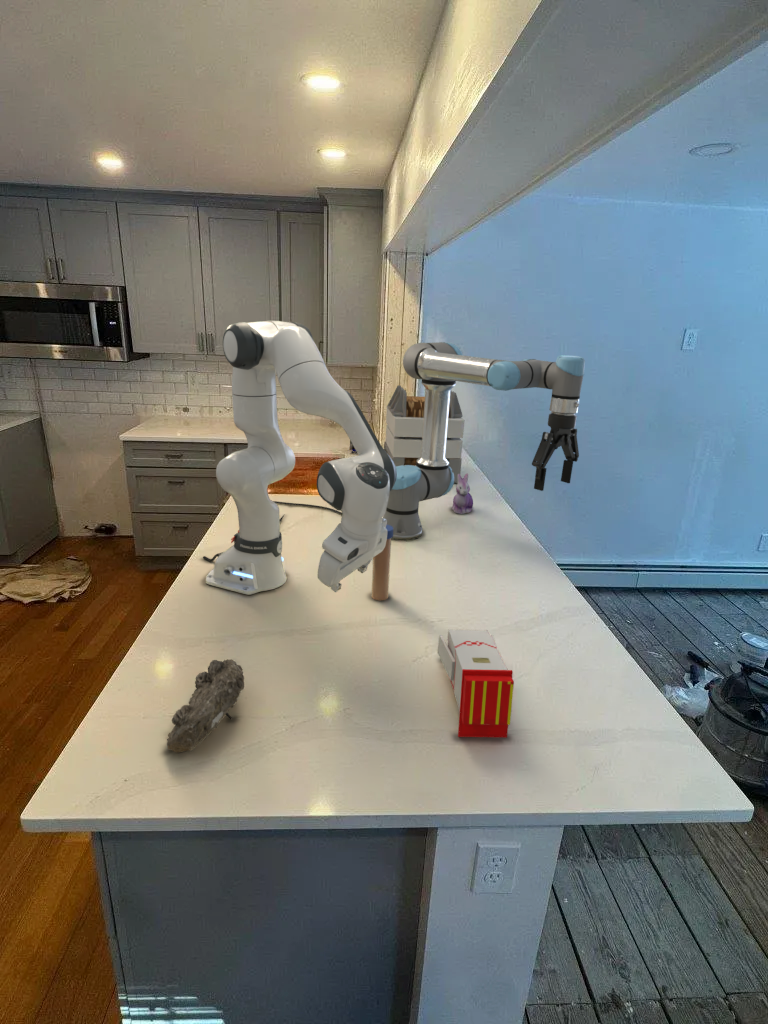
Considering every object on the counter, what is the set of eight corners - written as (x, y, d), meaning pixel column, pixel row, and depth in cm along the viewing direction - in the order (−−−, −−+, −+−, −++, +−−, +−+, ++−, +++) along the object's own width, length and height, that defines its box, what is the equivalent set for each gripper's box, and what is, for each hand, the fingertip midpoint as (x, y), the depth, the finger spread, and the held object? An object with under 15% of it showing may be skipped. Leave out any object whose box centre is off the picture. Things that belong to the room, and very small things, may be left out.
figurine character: (361, 456, 305) (361, 447, 319) (361, 443, 302) (362, 434, 315) (348, 456, 305) (350, 446, 318) (349, 442, 302) (350, 433, 315)
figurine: (459, 516, 220) (463, 478, 214) (445, 507, 228) (448, 471, 223) (479, 513, 224) (483, 476, 219) (464, 505, 232) (468, 469, 227)
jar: (388, 592, 158) (391, 526, 151) (388, 601, 154) (391, 533, 147) (371, 592, 158) (374, 525, 152) (370, 600, 154) (373, 532, 147)
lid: (393, 532, 152) (393, 524, 152) (392, 540, 147) (393, 532, 147) (372, 531, 153) (373, 523, 152) (371, 539, 147) (371, 531, 147)
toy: (488, 613, 130) (523, 677, 101) (484, 667, 133) (517, 744, 104) (435, 612, 130) (455, 676, 101) (432, 666, 133) (451, 743, 103)
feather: (291, 508, 223) (294, 504, 222) (274, 533, 196) (277, 528, 195) (287, 506, 222) (290, 502, 222) (270, 530, 196) (272, 526, 195)
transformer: (382, 463, 289) (386, 382, 275) (445, 464, 293) (451, 384, 279) (390, 482, 257) (394, 392, 243) (460, 483, 261) (468, 394, 247)
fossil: (192, 660, 117) (244, 628, 112) (224, 691, 120) (276, 661, 115) (142, 746, 98) (202, 712, 93) (182, 779, 101) (242, 748, 96)
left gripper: (377, 508, 131) (366, 553, 139) (316, 545, 116) (308, 593, 124) (398, 522, 128) (386, 567, 136) (339, 561, 114) (330, 608, 122)
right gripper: (548, 419, 148) (537, 496, 155) (598, 411, 163) (586, 482, 171) (525, 414, 153) (515, 489, 160) (575, 407, 169) (564, 476, 176)
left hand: (348, 579), depth 130 cm, fingers open, 8 cm apart
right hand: (552, 485), depth 166 cm, fingers open, 13 cm apart
